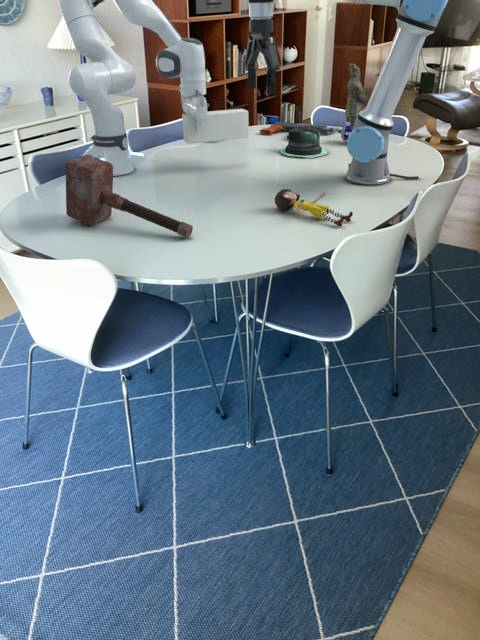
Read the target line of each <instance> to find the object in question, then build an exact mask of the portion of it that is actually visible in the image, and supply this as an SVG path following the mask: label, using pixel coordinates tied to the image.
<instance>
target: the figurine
mask: <svg viewBox="0 0 480 640" xmlns="http://www.w3.org/2000/svg"><path fill="white" fill-rule="evenodd" d="M326 196H328V193H327V192H326V191H324V192H323V193H322V192H321V193H320V195H319V197H318V198H316V199H315V200H312V201H306V200H304V199H301V200H300V198H301V195H300V194H299V193H294V192H293V191H292V190H291V189H289V188H283V189H280V190H279V191H278V192H277V193H276V194H275V197H274V204H275V206H276V208H277V209H279V210H281V211H291V210H293V209H295V211H296V212H297V213H299V212H300V210H301V211H306V212H309V213H310V214H311V215H313V216H314V217H316V218H318V219H320V220H323V219H325V220H327V221H328V222H330V223H333V224H335V225H336V226H337V227H342V226H343V224H342V223H343V222H344V221H346V222H348V223H349V222H351V218H352V216H353V215H354V214H353V211H349V213H348V215H346V214H345V215H344V214H342V213H339V212H337V211H336V210H334V209H333V208H331V207H330V206H328V205H321V204H316V203H317V202H318V201H319V200H320V199H323V198H324V197H326ZM330 214H331V215H332V216H334V217H336V218H338V219H334V218H333V217H331V216H330Z"/></svg>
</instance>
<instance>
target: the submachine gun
mask: <svg viewBox="0 0 480 640" xmlns="http://www.w3.org/2000/svg"><path fill="white" fill-rule="evenodd" d="M298 128H311V129H316V130H318V131H319V132H320V133H321V135H322V136H329V135H331V134H333V133H334V131H335V129H334V128H333V127H329V128H328V125H321V124H310V123H298V122H287V121H286V122H285V121H276V122H275V121H274V122H273V124H270V126H269V127H265V128H261V129H260V130H259V134H261V135H265V136H266V135H267V136H270V135H272V134H274V133H278V132H289V131H291V130H294V129H298ZM286 140H289V133H288V134H287V135H286Z"/></svg>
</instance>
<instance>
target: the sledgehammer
mask: <svg viewBox="0 0 480 640" xmlns="http://www.w3.org/2000/svg"><path fill="white" fill-rule="evenodd" d="M81 156H82V155H81ZM81 156H79V157H76V158H73V159H71V160H68V161H67V162H65V208H66V210H65V211H66V212H65V213H66V216H68V218H71V219H72V220H76V221H78V222H80V223H82V224H84V225H87V226H89V227H93V226H95V225H97V224H99V223H101V222H103V221H105V220H106V219H109V218H111V216H112V211H113V209H115V210H119V211H121V212H126V213H128V214H131V215H133V216H134V217H137V218H140V219H142V220H145V221H147V222H149V223H151V224H155V225H157V226H160V227H162V228H164V229H167V230H169V231H171V232H174V233H176V234H177V235H178V236H181V237H183V238H186V239H189V238H190V236H191V235H192V233H193V227H194V226H193V225H192V224H189V223H186V222H184V221H180V220H177V219H174V218H172V217H170V216H168V215H164V214H162V213H159V212H157V211H155V210H153V209H150V208H148V207H146V206H143V205H141V204H138V203H135V202H133V201H131V200H129V199H128V198H126V197H124V196H121V195H120V194H118V193H115V192H114V191H113V190H114V189H113V188H114V176H113V165H112V164H111V163H109V162H107V161H104V160H101V159H99V158H96V157H94V156H91V155H89V154H87V155H84V156H82V157H81Z"/></svg>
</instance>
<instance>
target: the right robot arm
mask: <svg viewBox="0 0 480 640" xmlns="http://www.w3.org/2000/svg"><path fill="white" fill-rule="evenodd" d="M343 1H344V2H346V1H347V2H353V3H354V2H355V3H361V4H370V5H377V6H386V7H387V6H388V7H394V8H396V9H397V11H398V13H397V15H396V18H395V21H396V24H397V29H396V32H395V34H394V36H393V39H392V42H391V45H390V47H389V49H388V52H387V54H386V57H385V60H384V61H383V64H382V67H381V70H380V72H379V74H378V77H377V79H376V82H375V85H374V87H373V90H372V92H371V95H370V97H369V100H368V101H367V105H366V106H365V108H364V109H362V111H360V112H359V113H358V114H357V117H356V122H355V124H354V127H353V130H352V132H351V133H350V134H349V136H348V139H347V140H346V149H347V152H348V154H349V155H350V157H351V158H352V159H351V162H350V163H347V167H348V168H347V172H346V181H348V182H349V183H352V184H357V185H363V186H377V185H383V184H386V183H389V182H390V179H391V177H392V178H393V177H394V178H399V179H405V180H419V178H420V177H419V175H418V176H417V175H416V176H405V175H401V174H395V173H391V172H390V168H389V162H388V149H389V140H390V134H391V132H392V130H393V128H394V125H395V123H394V121H393V115H394V113H395V111H396V108H397V106H398V104H399V102H400V99H401V97H402V95H403V92H404V89H405V87H406V85H407V83H408V80H409V78H410V75H411V73H412V72H413V68H414V66H415V64H416V61H417V59H418V57H419V54H420V52H421V50H422V48H423V46H424V44H425V41H426V38H427V37H428V36H430V35H433V34H434V33H435V31H436V28H437V26H438V24H439V21H440V19H441V17H442V15H443V12H444V10H445V9H446V7H447V4H448V2H449V0H343ZM274 9H275V6H274V0H248V17H249V18H250V19H249V21H248V27H249V28H248V32H249V33H250V34H249V35H248V36H247V46H246V51H245V55H244V61H243V65H244V66H246V68H247V89H248V90H256V89H257V65H256V64H257V61H258V58H259V55H260V53H261V54H262V55H263V60H264V62H265V64H266V68H267V70H266V95H276V83H277V82H276V81H277V80H276V79H277V77H276V73H277V72H278V71H280V69H281V66H280V61H279V57H278V56H279V55H278V52H277V46H276V37H275V36H270V34H271V33H274V20H273V19H272V18H273V17H274Z"/></svg>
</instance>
